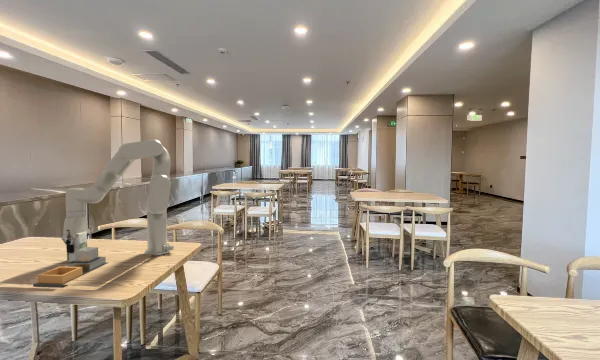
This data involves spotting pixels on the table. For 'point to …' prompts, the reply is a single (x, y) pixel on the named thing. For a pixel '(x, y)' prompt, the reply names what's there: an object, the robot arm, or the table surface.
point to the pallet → (67, 273)
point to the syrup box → (78, 245)
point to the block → (86, 255)
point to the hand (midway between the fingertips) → (77, 249)
